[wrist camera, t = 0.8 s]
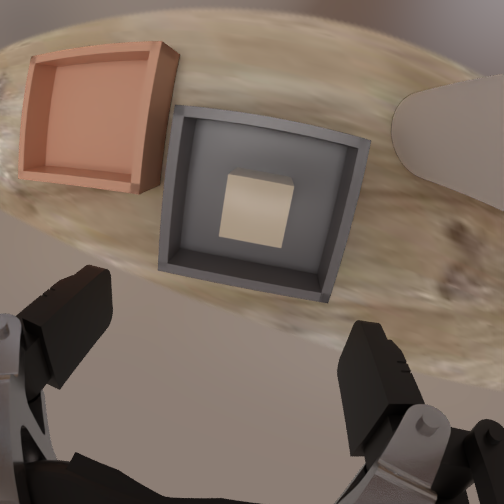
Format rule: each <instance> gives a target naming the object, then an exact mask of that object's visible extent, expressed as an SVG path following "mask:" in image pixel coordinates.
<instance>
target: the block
mask: <svg viewBox="0 0 504 504" xmlns="http://www.w3.org/2000/svg"><path fill="white" fill-rule="evenodd" d="M293 190H294V184H293V181H292V178H291V177H287V176H282V175H277V174H272V173H267V172H261V171H256V170H250V169H245V168H239V167H237V168H236V169H234V170H233V171H232V172H230V173H229V174H228V179H227V185H226V191H225V198H224V204H223V211H222V218H221V225H220V231H219V237H225V238H230V239H235V240H240V241H246V242H251V243H256V244H261V245H267V246H272V247H277V248H281V247H282V242H283V238H284V233H285V228H286V224H287V219H288V214H289V210H290V205H291V200H292V195H293Z"/></svg>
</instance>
